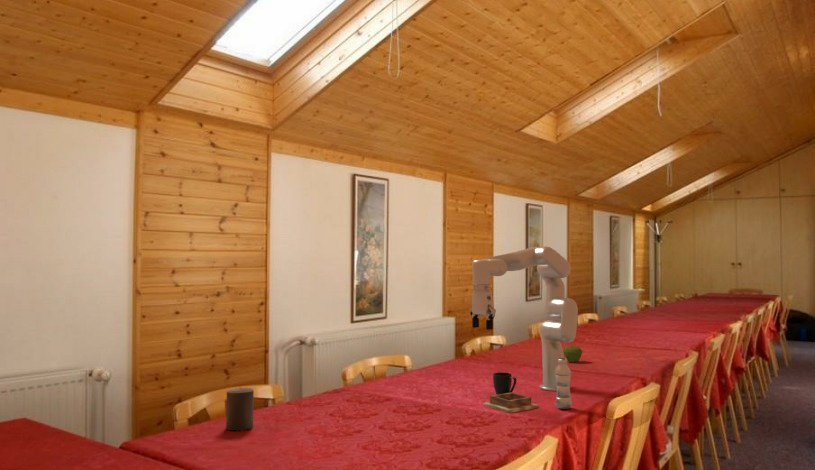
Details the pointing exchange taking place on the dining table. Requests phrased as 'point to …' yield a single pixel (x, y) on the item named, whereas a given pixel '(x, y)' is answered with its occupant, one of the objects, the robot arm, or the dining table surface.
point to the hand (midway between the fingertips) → (482, 328)
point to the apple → (572, 353)
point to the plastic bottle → (563, 384)
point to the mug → (503, 382)
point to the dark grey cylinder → (239, 409)
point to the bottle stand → (510, 402)
